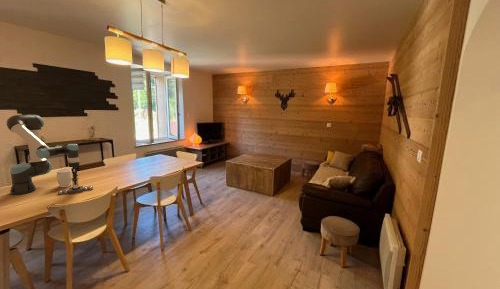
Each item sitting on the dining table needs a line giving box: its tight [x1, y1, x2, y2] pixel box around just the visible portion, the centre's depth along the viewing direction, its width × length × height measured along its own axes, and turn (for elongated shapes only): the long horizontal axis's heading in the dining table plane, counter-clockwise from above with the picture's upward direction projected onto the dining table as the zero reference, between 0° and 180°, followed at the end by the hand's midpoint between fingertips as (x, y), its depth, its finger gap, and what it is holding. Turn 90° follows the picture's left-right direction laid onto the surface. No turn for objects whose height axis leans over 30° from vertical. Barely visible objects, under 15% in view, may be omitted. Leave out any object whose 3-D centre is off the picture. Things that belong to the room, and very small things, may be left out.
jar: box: [56, 168, 73, 188], centre depth 198 cm, size 11×10×15 cm
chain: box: [57, 185, 94, 195], centre depth 189 cm, size 10×24×3 cm, turn 129°
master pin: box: [71, 176, 80, 190], centre depth 188 cm, size 5×5×12 cm
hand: (75, 185), depth 188 cm, fingers open, 12 cm apart
